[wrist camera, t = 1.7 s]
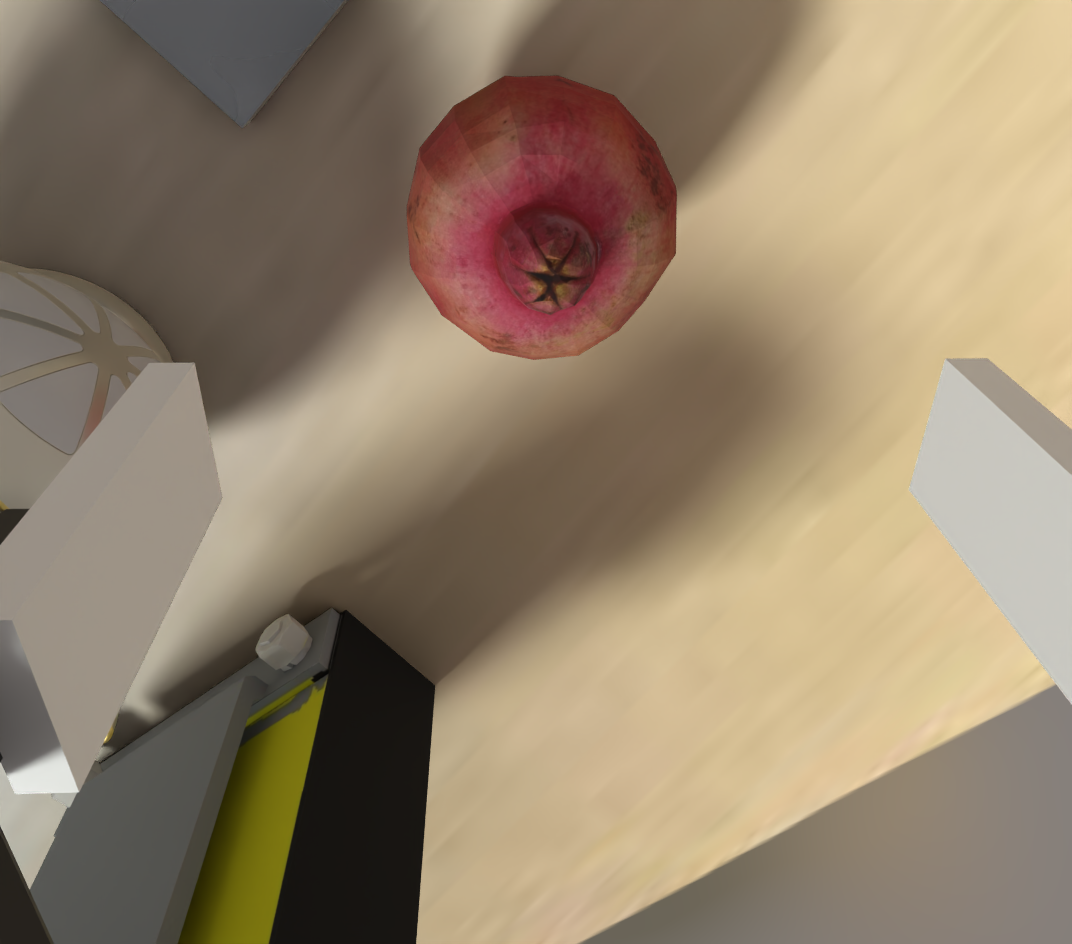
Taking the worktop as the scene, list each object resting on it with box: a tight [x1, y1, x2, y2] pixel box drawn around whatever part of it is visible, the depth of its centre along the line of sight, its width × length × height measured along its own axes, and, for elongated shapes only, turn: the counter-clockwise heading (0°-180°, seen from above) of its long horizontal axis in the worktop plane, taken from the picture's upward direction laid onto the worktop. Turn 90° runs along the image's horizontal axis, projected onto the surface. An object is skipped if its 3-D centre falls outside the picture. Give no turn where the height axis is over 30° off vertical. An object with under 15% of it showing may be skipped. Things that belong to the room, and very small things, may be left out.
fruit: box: [407, 75, 677, 360], centre depth 26 cm, size 8×8×10 cm
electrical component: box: [30, 608, 435, 944], centre depth 34 cm, size 18×10×20 cm, turn 127°
